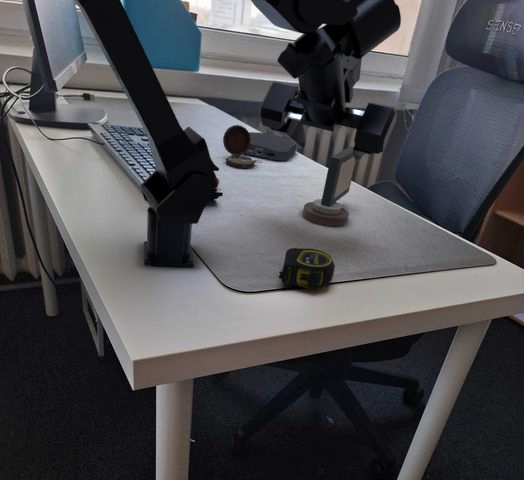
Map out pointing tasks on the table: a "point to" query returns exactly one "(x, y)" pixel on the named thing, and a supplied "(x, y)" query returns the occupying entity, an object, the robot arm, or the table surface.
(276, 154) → the media streaming box
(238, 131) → the compass
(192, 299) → the table surface
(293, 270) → the tape measure
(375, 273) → the table surface
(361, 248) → the table surface
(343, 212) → the swivel stand
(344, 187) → the frame
